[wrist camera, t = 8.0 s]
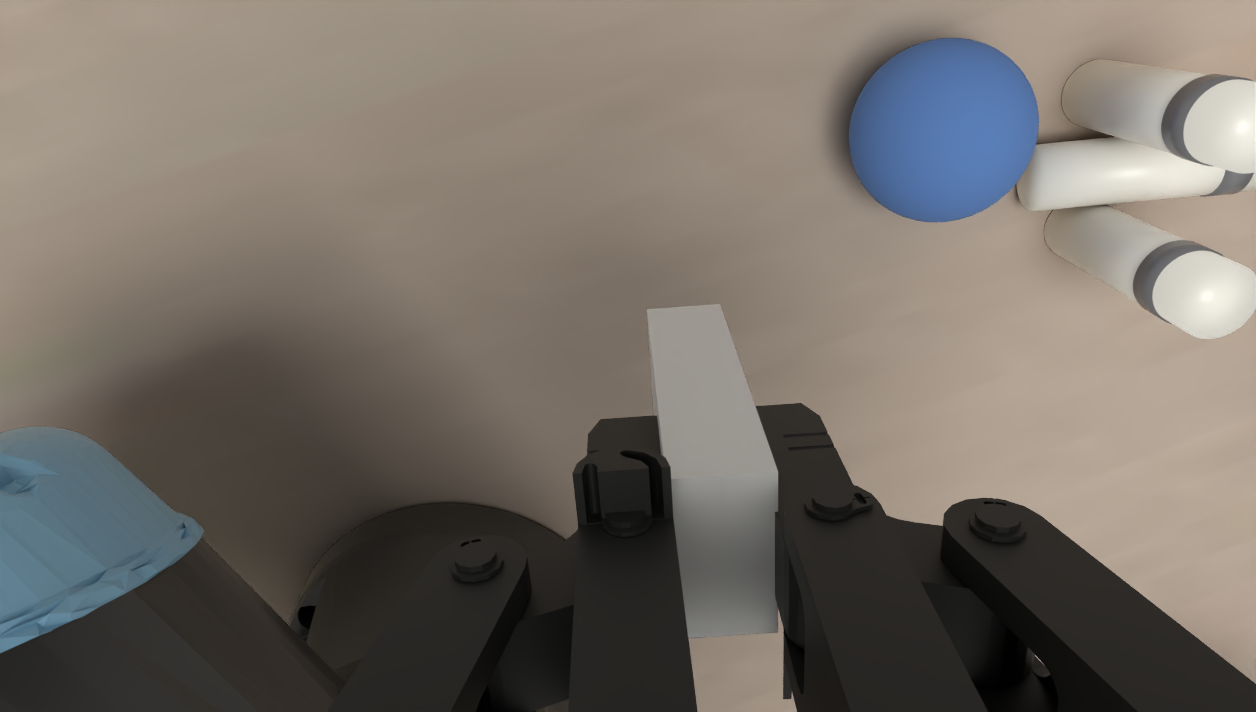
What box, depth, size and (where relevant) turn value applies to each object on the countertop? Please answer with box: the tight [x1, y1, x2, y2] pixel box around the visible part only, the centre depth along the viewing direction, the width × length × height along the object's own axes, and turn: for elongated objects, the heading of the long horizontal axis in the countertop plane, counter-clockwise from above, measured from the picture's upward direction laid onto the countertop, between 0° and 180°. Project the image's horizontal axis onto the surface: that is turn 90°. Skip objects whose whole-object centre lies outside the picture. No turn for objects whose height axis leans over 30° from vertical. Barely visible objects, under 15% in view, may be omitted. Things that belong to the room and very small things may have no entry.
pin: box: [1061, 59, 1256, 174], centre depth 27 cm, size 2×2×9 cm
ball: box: [849, 38, 1039, 222], centre depth 29 cm, size 6×6×6 cm
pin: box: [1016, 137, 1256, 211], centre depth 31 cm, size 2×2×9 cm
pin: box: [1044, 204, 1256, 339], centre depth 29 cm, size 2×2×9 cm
